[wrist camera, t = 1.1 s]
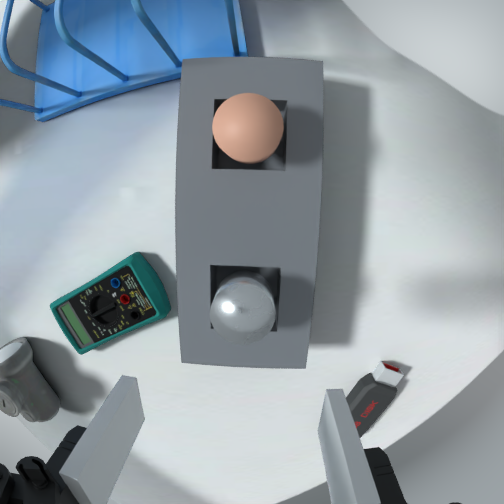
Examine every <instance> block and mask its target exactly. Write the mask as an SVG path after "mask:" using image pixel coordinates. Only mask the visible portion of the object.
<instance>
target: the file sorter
mask: <svg viewBox="0 0 504 504" xmlns="http://www.w3.org/2000/svg"><path fill="white" fill-rule="evenodd" d="M30 1H31V2H33V3H34V4H36V5H37V6H38V7H40V8H41V9H43V10H42V16H41V23H40V29H39V37H38V46H37V58H36V72H35V73H32V72H29V71H27V70H25V69H23V68H20V67H19V66H17V65H15V63H14V62H13V61H12V60H11V59H10V57H9V54H8V50H7V44H6V39H7V33H8V27H9V21H10V17H11V12H12V7H13V3H14V0H8V1H7V5H6V9H5V13H4V18H3V23H2V27H1V33H0V55H1V58H2V61H3V63H4V64H5V66H6V67H7V68H8V69H9V70H10V71H11V72H12V73H14V74H16V75H19V76H21V77H24V78H27V79H30V80H32V81H35V107H33V106H29V105H25V104H21V103H16V102H12V101H7V100H3V99H0V105H1V106H6V107H11V108H16V109H20V110H25V111H30V112H34V113H35V120H37V121H41V122H45V121H47V120H49V119H51V118H54V117H56V116H59V115H61V114H63V113H66V112H69V111H71V110H74V109H76V108H79V107H82V106H84V105H87V104H90V103H93V102H96V101H99V100H102V99H105V98H108V97H111V96H114V95H117V94H120V93H124V92H127V91H131V90H134V89H138V88H141V87H145V86H149V85H153V84H157V83H161V82H165V81H169V80H173V79H178V78H181V71H182V60H183V59H191V58H209V57H248V53H247V46H246V40H245V34H244V27H243V22H242V16H241V10H240V4H239V0H55V2H53V3H52V4H50V5H48V6H46V5H44V4H43V3H42V2H40V1H39V0H30Z"/></svg>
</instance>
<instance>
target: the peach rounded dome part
mask: <svg viewBox="0 0 504 504" xmlns="http://www.w3.org/2000/svg"><path fill="white" fill-rule="evenodd" d="M283 128H284V125H283V118H282V115H281V113H280V111H279V109H278V108H277V106H276V105H275V104H274V103H273V102H272V101H271V100H269V99H268V98H266V97H264V96H262V95H259V94H255V93H242V94H238V95H235V96H232V97H230V98H229V99H227V100H226V101H225V102H223V103H222V104H221V105H220V107H219V108H218V109H217V111H216V113H215V116H214V119H213V124H212V130H213V135H214V139H215V141H216V143H217V144H218V146H219V147H220V148H221V149H222V150H223V151H224V152H225V153H226V154H227V155H228V156H230V157H231V158H232V159H234V160H236V161H238V162H240V163H245V164H255V163H259V162H262V161H264V160H266V159H267V158H269V157H270V156H271V155H272V154H273V153H274V152H275V150H276V149H277V147H278V145H279V142H280V140H281V138H282V134H283Z"/></svg>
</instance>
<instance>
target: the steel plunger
mask: <svg viewBox="0 0 504 504" xmlns="http://www.w3.org/2000/svg"><path fill="white" fill-rule="evenodd" d="M210 319H211V323H212V325H213V327H214V329H215V330H216V332H217V333H218V334H219V335H220V336H221V337H222V338H224V339H226V340H227V341H230V342H232V343H236V344H251V343H255V342H257V341H259V340H261V339H263V338H264V337H265V336H266V335H267V334H268V333H269V332H270V331H271V329H272V327H273V325H274V322H275V306H274V297H273V291H272V288H271V286H270V284H269V282H268V281H267V280H266V279H265V278H264V277H263V276H261V275H260V274H258V273H256V272H253V271H247V270H242V271H237V272H234V273H231V274H230V275H228V276H227V277H225V278H224V279H223V280H222V282H221V283H220V285H219V287H218V290H217V292H216V295H215V297H214V300H213V302H212V305H211V308H210Z"/></svg>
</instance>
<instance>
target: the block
mask: <svg viewBox="0 0 504 504" xmlns="http://www.w3.org/2000/svg"><path fill="white" fill-rule="evenodd" d="M242 93H255V94H259V95H262V96H264V97H266V98H268V99H269V100H271V101H272V102H273V103H274V104H275V105H276V106H277V108H278V109H279V111H280V113H281V115H282V118H283V125H284V128H283V134H282V138H281V140H280V142H279V145H278V147H277V149H276V150H275V152H274V153H273V154H272V155H271V156H270V157H269V158H267V159H266V160H264V161H262V162H259V163H255V164H245V163H240V162H238V161H236V160H234V159H232V158H231V157H230V156H228V155H227V154H226V153H225V152H224V151H223V150H222V149H221V148H220V147H219V146H218V144H217V143H216V141H215V139H214V135H213V130H212V124H213V119H214V116H215V113H216V111H217V109H218V108H219V107H220V105H221V104H222V103H223V102H225V101H226V100H227V99H229V98H230V97H232V96H235V95H238V94H242ZM322 164H323V61H314V60H304V59H291V58H273V57H209V58H191V59H183V60H182V71H181V83H180V96H179V111H178V129H177V153H176V195H175V235H176V278H177V302H178V320H179V336H180V350H181V362H182V363H191V364H202V365H215V366H231V367H251V368H294V369H306V362H307V354H308V346H309V338H310V329H311V320H312V311H313V301H314V291H315V280H316V268H317V256H318V242H319V227H320V210H321V190H322ZM242 270H247V271H253V272H256V273H258V274H260V275H261V276H263V277H264V278H265V279H266V280H267V281H268V282H269V284H270V286H271V288H272V291H273V297H274V306H275V322H274V325H273V327H272V329H271V331H270V332H269V333H268V334H267V335H266V336H265V337H264V338H263V339H261V340H259V341H257V342H255V343H251V344H236V343H232V342H230V341H227V340H226V339H224V338H222V337H221V336H220V335H219V334H218V333H217V332H216V330H215V329H214V327H213V325H212V323H211V319H210V308H211V305H212V302H213V300H214V297H215V295H216V292H217V290H218V287H219V285H220V283H221V282H222V280H223V279H224V278H225V277H227V276H228V275H230V274H231V273H234V272H237V271H242Z"/></svg>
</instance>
